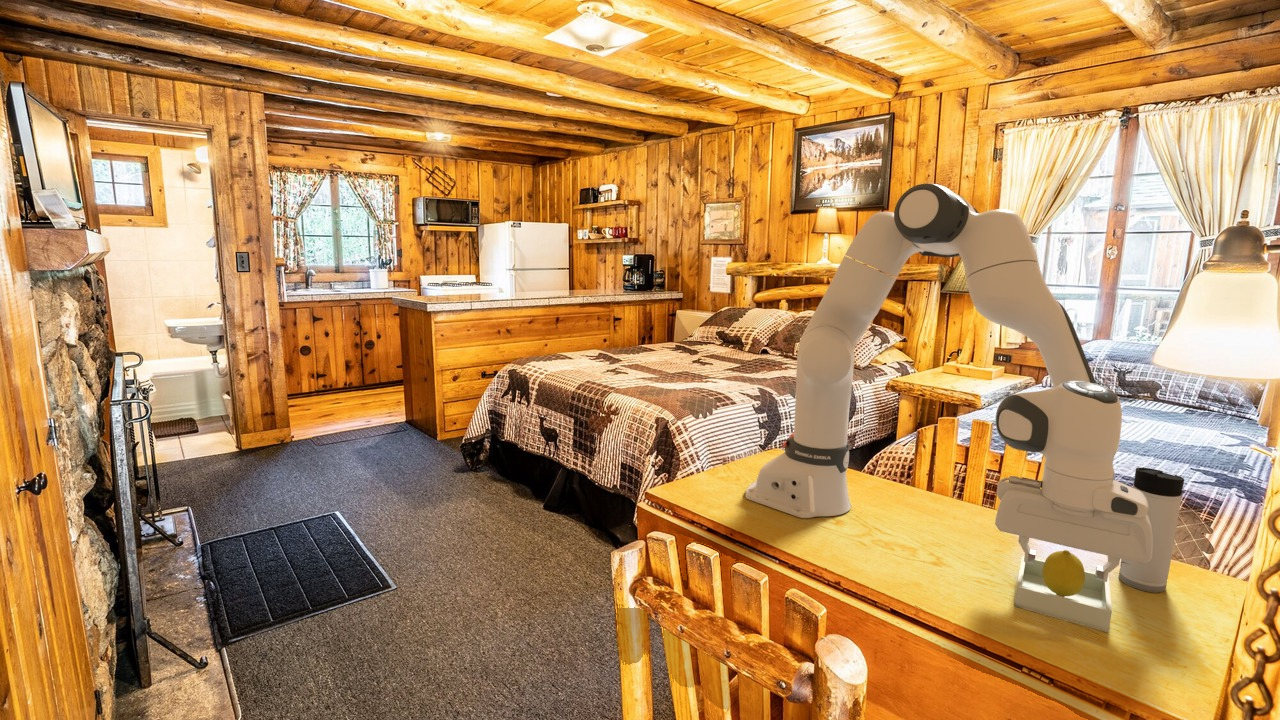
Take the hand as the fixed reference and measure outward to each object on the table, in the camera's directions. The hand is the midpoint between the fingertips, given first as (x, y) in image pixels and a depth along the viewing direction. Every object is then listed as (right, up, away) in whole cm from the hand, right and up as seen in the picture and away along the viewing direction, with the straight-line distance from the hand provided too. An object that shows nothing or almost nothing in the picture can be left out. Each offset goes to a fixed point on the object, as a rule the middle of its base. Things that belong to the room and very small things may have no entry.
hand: (1064, 570), depth 100 cm
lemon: (0, -5, +1) cm, 5 cm away
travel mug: (+17, -4, +6) cm, 19 cm away
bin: (0, -5, +1) cm, 5 cm away
